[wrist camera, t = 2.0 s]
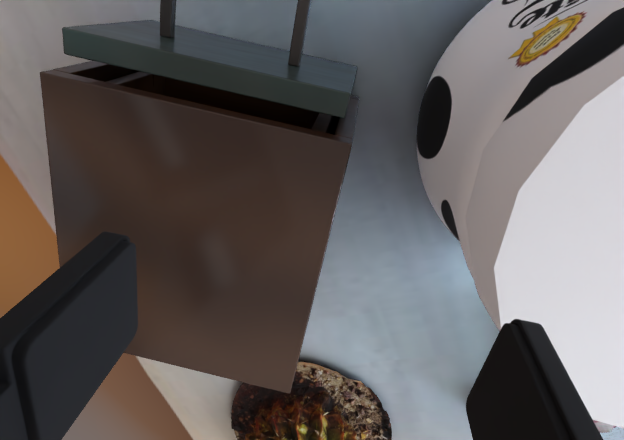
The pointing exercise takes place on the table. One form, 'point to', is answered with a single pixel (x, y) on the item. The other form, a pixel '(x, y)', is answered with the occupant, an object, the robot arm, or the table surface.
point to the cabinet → (198, 216)
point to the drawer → (221, 68)
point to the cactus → (310, 409)
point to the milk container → (538, 176)
